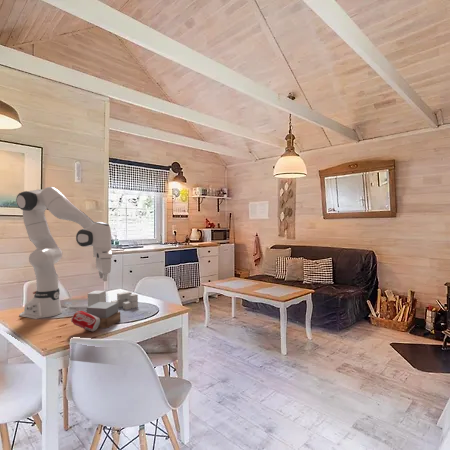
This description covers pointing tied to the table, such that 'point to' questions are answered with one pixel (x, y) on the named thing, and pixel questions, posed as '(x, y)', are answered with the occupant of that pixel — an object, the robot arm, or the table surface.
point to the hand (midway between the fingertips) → (103, 279)
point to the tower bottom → (109, 320)
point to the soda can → (85, 320)
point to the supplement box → (96, 297)
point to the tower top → (103, 309)
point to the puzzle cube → (127, 300)
